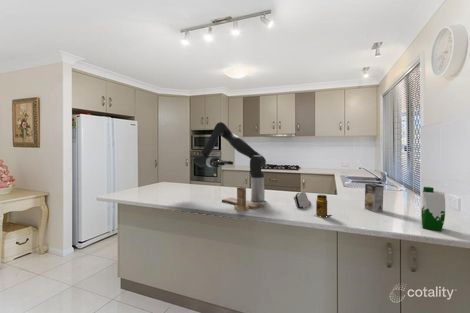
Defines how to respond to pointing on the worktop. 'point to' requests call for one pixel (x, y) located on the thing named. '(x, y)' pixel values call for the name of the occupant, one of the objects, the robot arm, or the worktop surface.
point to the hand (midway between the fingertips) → (228, 163)
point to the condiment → (321, 205)
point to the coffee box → (374, 197)
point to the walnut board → (248, 203)
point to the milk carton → (433, 209)
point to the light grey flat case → (301, 200)
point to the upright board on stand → (241, 199)
